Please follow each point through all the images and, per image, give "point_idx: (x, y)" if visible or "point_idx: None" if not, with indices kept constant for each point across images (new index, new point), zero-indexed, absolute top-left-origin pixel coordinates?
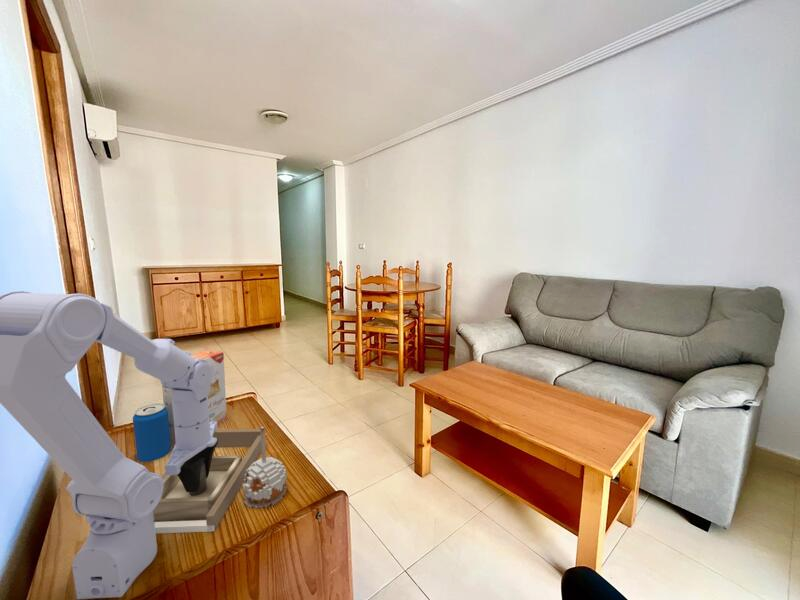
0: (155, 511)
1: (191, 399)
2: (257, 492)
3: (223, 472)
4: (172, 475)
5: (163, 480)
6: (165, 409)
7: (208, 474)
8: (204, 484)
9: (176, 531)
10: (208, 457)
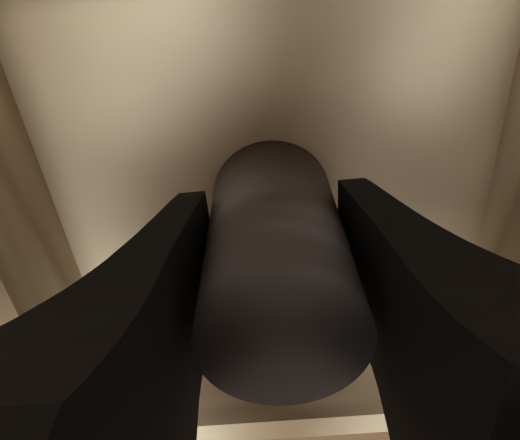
0: None
1: None
2: None
3: (45, 116)
4: (252, 411)
5: (322, 430)
6: None
7: (178, 197)
8: (281, 165)
9: None
10: (154, 313)
